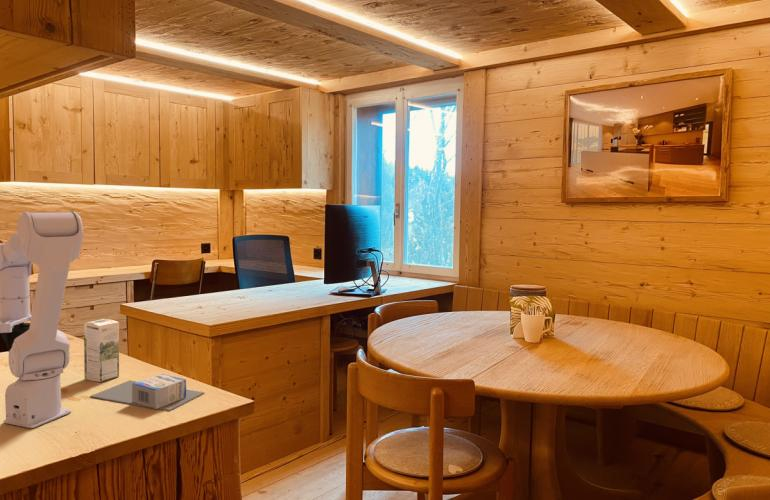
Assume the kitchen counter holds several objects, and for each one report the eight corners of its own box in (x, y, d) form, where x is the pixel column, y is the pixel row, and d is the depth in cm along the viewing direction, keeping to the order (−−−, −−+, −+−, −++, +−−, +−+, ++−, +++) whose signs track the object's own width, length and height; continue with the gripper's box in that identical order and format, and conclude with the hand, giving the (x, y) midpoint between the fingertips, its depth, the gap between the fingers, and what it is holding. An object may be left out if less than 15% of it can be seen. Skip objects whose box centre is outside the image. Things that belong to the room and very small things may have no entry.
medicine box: (130, 383, 127) (162, 372, 135) (131, 403, 128) (162, 391, 135) (155, 390, 123) (186, 378, 131) (156, 410, 124) (187, 397, 132)
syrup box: (104, 373, 148) (103, 317, 147) (120, 377, 146) (119, 320, 144) (84, 379, 143) (82, 322, 142) (100, 383, 141) (99, 324, 139)
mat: (169, 411, 124) (169, 409, 124) (90, 397, 131) (90, 395, 131) (204, 393, 135) (204, 392, 135) (129, 381, 142) (129, 380, 142)
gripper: (26, 302, 122) (28, 365, 123) (43, 291, 135) (45, 347, 137) (-13, 303, 120) (-11, 367, 121) (9, 291, 133) (11, 349, 135)
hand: (16, 357), depth 129 cm, fingers closed
